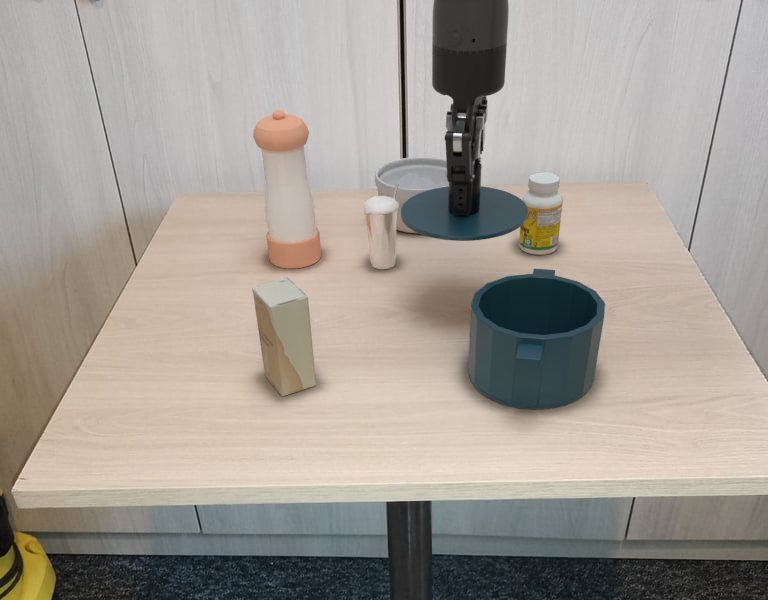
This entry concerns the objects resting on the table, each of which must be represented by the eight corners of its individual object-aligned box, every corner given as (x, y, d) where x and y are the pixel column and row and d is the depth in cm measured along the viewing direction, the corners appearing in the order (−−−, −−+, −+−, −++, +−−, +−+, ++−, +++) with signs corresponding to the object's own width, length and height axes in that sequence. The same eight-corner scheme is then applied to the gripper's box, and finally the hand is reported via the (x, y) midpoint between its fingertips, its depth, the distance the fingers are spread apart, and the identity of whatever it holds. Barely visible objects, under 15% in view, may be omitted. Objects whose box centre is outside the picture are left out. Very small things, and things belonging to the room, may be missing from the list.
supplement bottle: (561, 254, 111) (570, 183, 104) (523, 257, 111) (529, 186, 104) (552, 237, 115) (559, 168, 108) (514, 240, 115) (520, 171, 108)
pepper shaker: (262, 252, 115) (241, 107, 102) (310, 241, 117) (296, 98, 104) (279, 273, 110) (259, 123, 97) (328, 261, 112) (316, 113, 99)
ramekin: (460, 200, 126) (461, 153, 121) (469, 236, 116) (471, 187, 112) (375, 204, 126) (373, 158, 121) (377, 240, 116) (375, 191, 112)
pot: (596, 335, 95) (607, 267, 89) (589, 431, 82) (601, 358, 76) (481, 325, 98) (484, 259, 92) (456, 417, 84) (458, 346, 78)
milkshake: (411, 261, 111) (409, 188, 104) (383, 275, 108) (380, 201, 102) (387, 251, 113) (385, 179, 107) (360, 265, 111) (355, 191, 104)
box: (264, 375, 91) (249, 285, 84) (298, 364, 93) (287, 274, 85) (283, 398, 88) (269, 306, 80) (318, 386, 89) (308, 294, 82)
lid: (532, 197, 98) (537, 145, 94) (520, 250, 87) (524, 193, 83) (414, 191, 101) (413, 140, 96) (388, 241, 90) (386, 186, 86)
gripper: (498, 57, 76) (488, 235, 87) (514, 21, 86) (504, 185, 97) (419, 55, 77) (420, 230, 89) (444, 20, 87) (442, 182, 99)
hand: (464, 205), depth 93 cm, fingers closed on lid, 3 cm apart
